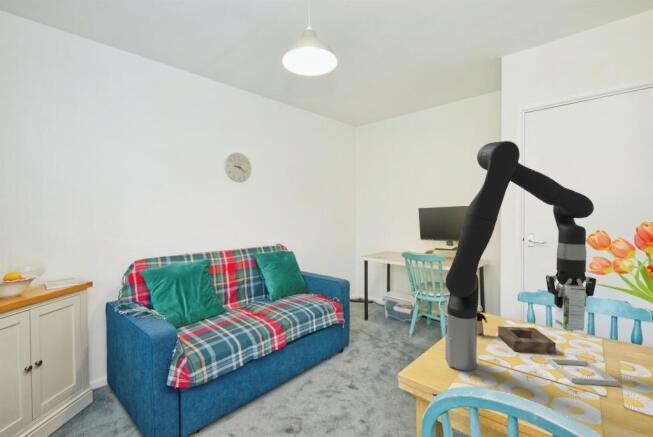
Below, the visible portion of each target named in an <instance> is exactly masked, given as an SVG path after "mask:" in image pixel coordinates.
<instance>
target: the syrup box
mask: <svg viewBox="0 0 653 437" xmlns="http://www.w3.org/2000/svg"><path fill="white" fill-rule="evenodd" d="M557 284H558V281H557V282H556V285H557ZM559 286H560V287H562V286H563V285H561V284H559ZM583 286H584V285H583ZM583 286H578V285H565V288H564V291H563V294H562V296H561V297H562V308H558V307H557V306H556V305H555V317H554V318H555V319H554V323H555V325H558V326H559V327H560V328H562V329H563V330H566V331H583V332H584V330H585V315H586V314H585V312H586V311H585V310H586V309H585V308H586V306H585V291H586V287H585V286H584V287H583Z"/></svg>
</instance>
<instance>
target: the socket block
mask: <svg viewBox="0 0 653 437" xmlns="http://www.w3.org/2000/svg"><path fill="white" fill-rule="evenodd" d="M497 336H498V338H500V339H501V340H502V341H503V342H504V343H505V344H506V345H507V346H508V347H509V348H510V349H511V350H512V351H513V352H515V353H517V352H518V353H530V354H531V353H532V354H533V353H534V354H548V355H550V354H551V355H556V352H557V351H556V346H557V345H556V342H555V341H553V340H552V339H551V338H549V337H548V336H547V335H545V334H544V333H542V332H540V331H539V330H538V329H537V328H535V327H520V326H519V327H518V326H516V327H515V326H500V325H499V326H497Z"/></svg>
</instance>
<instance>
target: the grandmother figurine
mask: <svg viewBox="0 0 653 437" xmlns="http://www.w3.org/2000/svg"><path fill="white" fill-rule="evenodd" d="M482 311H483V307H482V305H480V304H478V308H477V337H480V336H482V337H484V336H485V334H484V323H485V324H488V320H487V318H486V316H485V314H483V313H482ZM483 321H484V323H483Z"/></svg>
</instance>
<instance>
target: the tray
mask: <svg viewBox="0 0 653 437" xmlns="http://www.w3.org/2000/svg"><path fill="white" fill-rule="evenodd" d="M547 363H548V364H549V365H551V366H552V367H553V369H555V370H556V371H557V372H559V373H560V374H561V375H562V376H563V377H564V378H566V379H567V380H568V381H569V382H570V383H571V384H580V385H583V384H584V385H595V386H596V385H597V386H599V385H600V386H612V387H618V386H619V380H617V379H616V378H614V377H613V376H611V375H609V373H607V372H606V371H604V370H602V369H601V368H599V367H598V366H597V365H595V364H594V363H592V362H591V361H589V360H587V359H570V358H556V357H555V358H554V357H548V358H547ZM561 365H569V366H570V365H571V366H585V367H586V366H587V367H588V368H590V369H591V370H592V371H593V372H595V373H597V375H600V376H601V377H602V378H595V377H594V378H593V377H578V376H573V375H571V374H570V373H569V372H567V370H565V369H564V368H563V367H561Z"/></svg>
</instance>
